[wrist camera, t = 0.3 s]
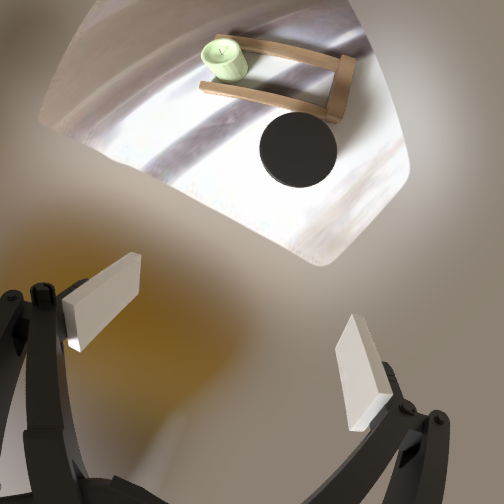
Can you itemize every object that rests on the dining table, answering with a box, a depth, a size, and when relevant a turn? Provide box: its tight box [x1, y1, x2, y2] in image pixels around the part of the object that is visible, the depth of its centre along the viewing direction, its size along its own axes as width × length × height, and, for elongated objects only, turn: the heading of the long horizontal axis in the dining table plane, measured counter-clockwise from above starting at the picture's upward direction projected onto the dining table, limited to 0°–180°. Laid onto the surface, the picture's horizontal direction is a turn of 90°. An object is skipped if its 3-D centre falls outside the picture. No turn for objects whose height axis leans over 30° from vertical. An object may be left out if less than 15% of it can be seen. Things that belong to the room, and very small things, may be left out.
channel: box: [199, 34, 356, 124], centre depth 33 cm, size 9×20×5 cm, turn 76°
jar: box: [259, 112, 337, 189], centre depth 33 cm, size 9×8×12 cm
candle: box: [201, 38, 248, 83], centre depth 31 cm, size 5×5×8 cm
